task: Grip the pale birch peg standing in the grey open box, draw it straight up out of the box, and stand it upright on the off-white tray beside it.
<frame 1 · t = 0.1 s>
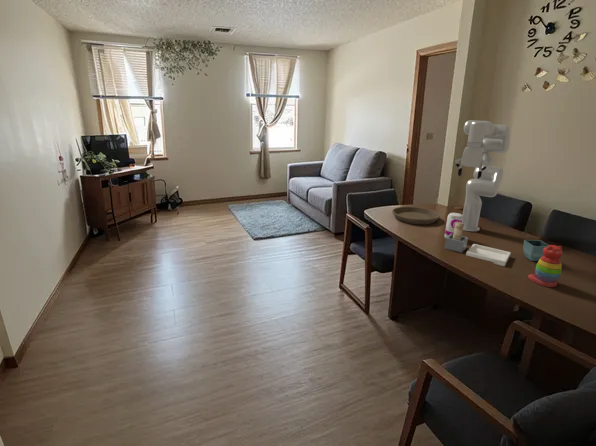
hand: (469, 177, 198), 37 cm above the table, tool pointing down, fingers open, 9 cm apart
birch peg: (455, 247, 195), point 1 cm above the table, touching grey open box
white tray: (487, 256, 187), on the table
plant saucer: (414, 218, 246), on the table
stacking bear: (544, 282, 162), on the table
flower pot: (532, 259, 185), on the table
grey open box: (455, 249, 196), on the table
supplement can: (451, 239, 210), on the table
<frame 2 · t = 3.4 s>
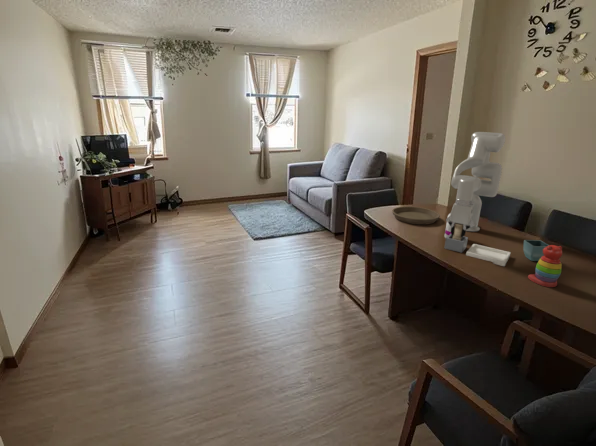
hand: (457, 234, 193), 8 cm above the table, tool pointing down, fingers closed on birch peg, 4 cm apart
birch peg: (455, 247, 195), point 1 cm above the table, touching grey open box, gripper
everything else where it was.
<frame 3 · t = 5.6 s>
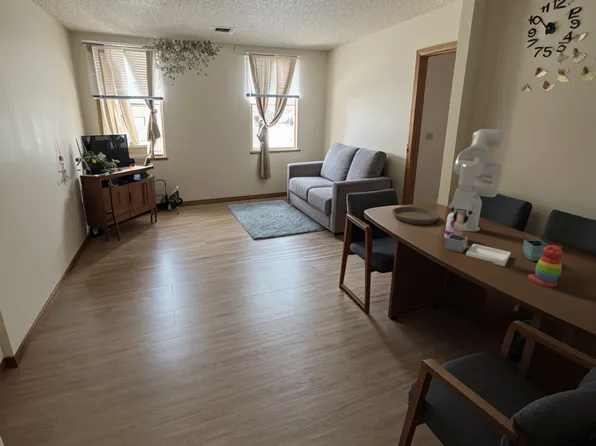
hand: (460, 221, 191), 16 cm above the table, tool pointing down, fingers closed on birch peg, 4 cm apart
birch peg: (457, 234, 193), point 9 cm above the table, touching gripper
everything else where it was.
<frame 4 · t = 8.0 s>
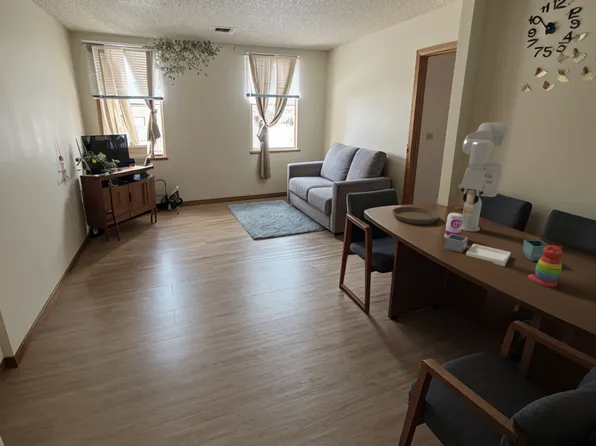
hand: (470, 201, 185), 27 cm above the table, tool pointing down, fingers closed on birch peg, 4 cm apart
birch peg: (467, 215, 187), point 20 cm above the table, touching gripper
everything else where it was.
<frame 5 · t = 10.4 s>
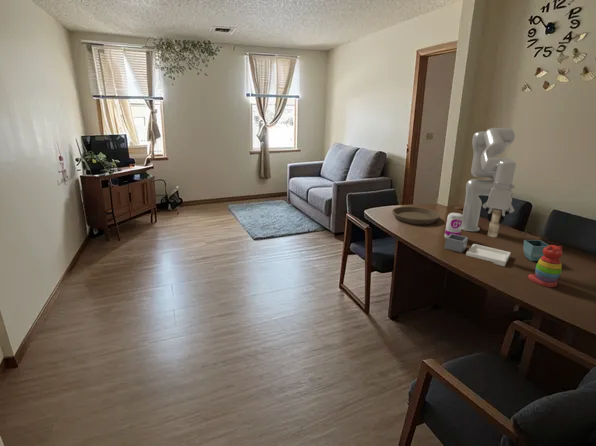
hand: (495, 221, 181), 19 cm above the table, tool pointing down, fingers closed on birch peg, 4 cm apart
birch peg: (492, 235, 183), point 12 cm above the table, touching gripper
everything else where it was.
when the fingers open (10 cm above the table, at t = 12.4 s): birch peg drops 2 cm, resting on white tray.
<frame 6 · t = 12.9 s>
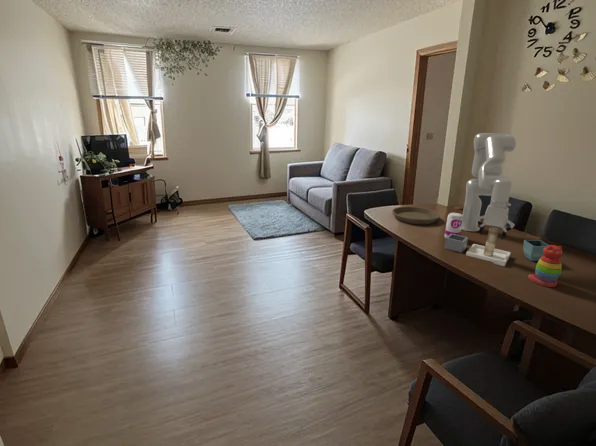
hand: (491, 236, 183), 11 cm above the table, tool pointing down, fingers open, 9 cm apart
birch peg: (488, 254, 187), point 1 cm above the table, touching white tray
everything else where it was.
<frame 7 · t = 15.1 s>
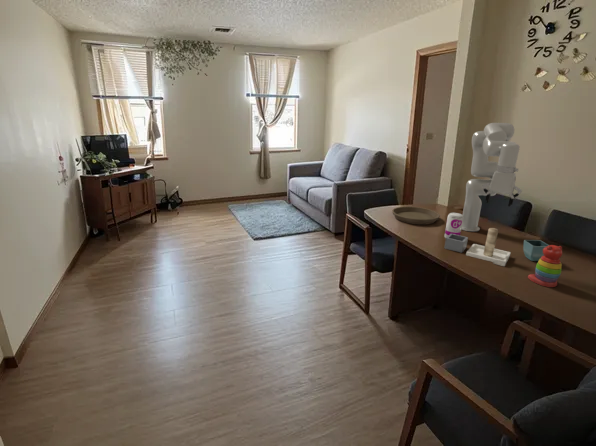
hand: (498, 204, 178), 28 cm above the table, tool pointing down, fingers open, 9 cm apart
nothing on the table moved.
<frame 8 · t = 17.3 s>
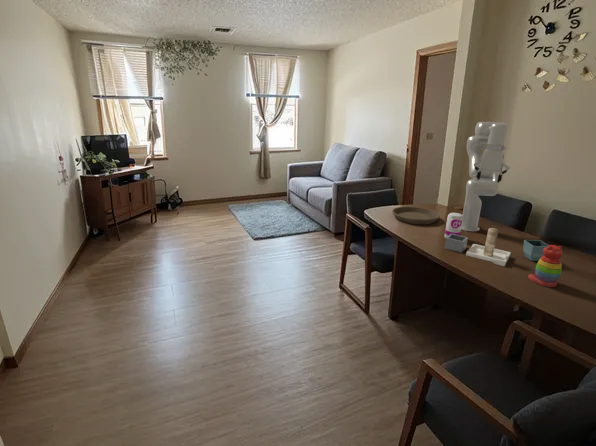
hand: (488, 180, 192), 36 cm above the table, tool pointing down, fingers open, 9 cm apart
nothing on the table moved.
at the end: birch peg inside the target area on the white tray (0.0 cm from its centre), point 1.0 cm above the white tray's base; birch peg tilted 1°; the gripper is holding nothing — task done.
